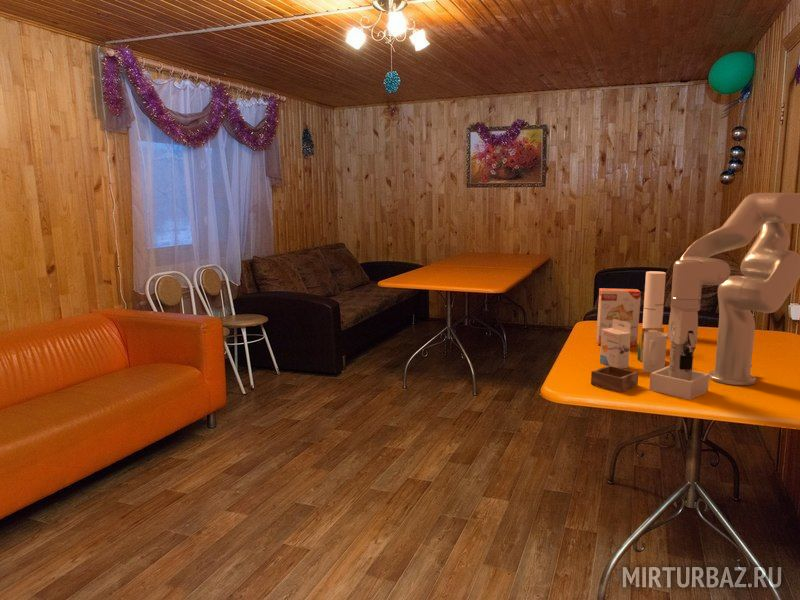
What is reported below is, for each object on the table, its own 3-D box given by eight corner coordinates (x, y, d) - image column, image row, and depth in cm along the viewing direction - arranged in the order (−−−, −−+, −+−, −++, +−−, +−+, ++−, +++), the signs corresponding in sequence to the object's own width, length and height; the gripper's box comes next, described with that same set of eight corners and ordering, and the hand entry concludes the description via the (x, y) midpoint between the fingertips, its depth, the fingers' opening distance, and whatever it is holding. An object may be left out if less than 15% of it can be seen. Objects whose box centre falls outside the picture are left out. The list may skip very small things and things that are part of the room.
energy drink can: (690, 386, 171) (694, 334, 169) (667, 383, 174) (670, 332, 172) (691, 381, 176) (695, 330, 174) (669, 378, 179) (672, 328, 177)
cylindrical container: (664, 336, 240) (668, 273, 236) (646, 336, 241) (650, 273, 236) (657, 332, 248) (661, 271, 243) (639, 332, 248) (643, 271, 243)
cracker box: (598, 345, 227) (601, 290, 223) (595, 341, 233) (598, 287, 229) (637, 347, 225) (641, 291, 221) (634, 343, 231) (637, 288, 227)
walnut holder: (608, 377, 188) (608, 365, 187) (637, 385, 181) (638, 372, 180) (590, 384, 181) (591, 371, 181) (620, 392, 174) (621, 378, 174)
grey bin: (668, 381, 184) (669, 365, 183) (708, 390, 175) (709, 374, 174) (649, 389, 176) (650, 373, 175) (689, 399, 168) (691, 382, 167)
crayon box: (658, 359, 208) (660, 326, 206) (662, 361, 205) (664, 328, 203) (636, 359, 208) (639, 326, 206) (640, 361, 205) (642, 328, 203)
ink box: (598, 363, 204) (601, 319, 202) (610, 361, 206) (612, 318, 204) (617, 369, 197) (620, 324, 194) (629, 367, 199) (632, 323, 196)
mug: (644, 366, 200) (647, 330, 198) (666, 369, 196) (669, 333, 194) (637, 374, 192) (639, 336, 190) (659, 377, 188) (662, 339, 186)
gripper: (660, 298, 180) (656, 357, 183) (683, 309, 163) (678, 374, 166) (687, 298, 180) (682, 357, 183) (712, 309, 163) (707, 375, 166)
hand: (680, 365), depth 174 cm, fingers closed on energy drink can, 6 cm apart
